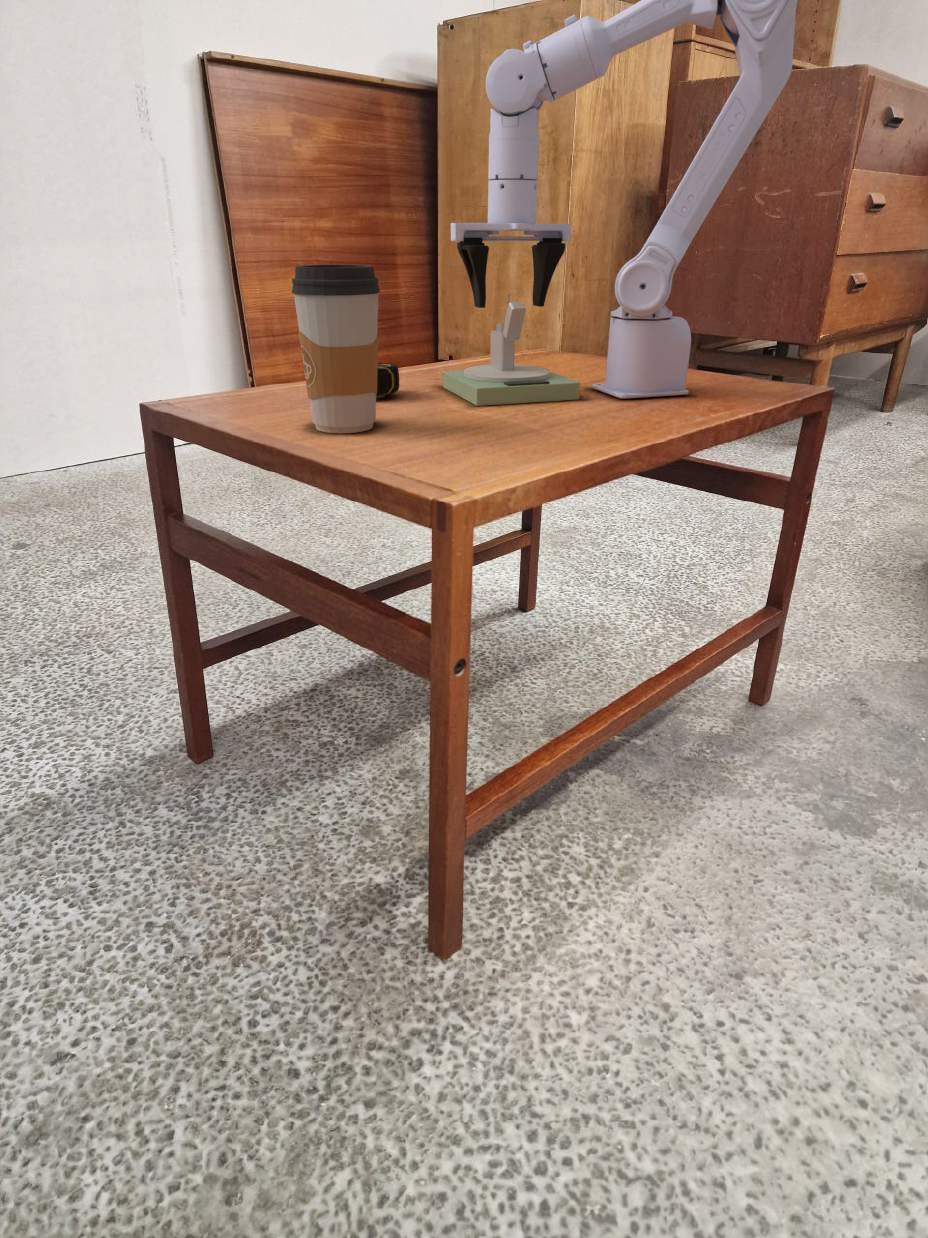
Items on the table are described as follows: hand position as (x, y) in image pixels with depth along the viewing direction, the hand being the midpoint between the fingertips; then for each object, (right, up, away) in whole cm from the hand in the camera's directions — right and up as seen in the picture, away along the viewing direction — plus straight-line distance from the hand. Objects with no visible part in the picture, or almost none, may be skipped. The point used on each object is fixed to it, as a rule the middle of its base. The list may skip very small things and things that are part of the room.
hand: (509, 306), depth 99 cm
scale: (0, -11, 0) cm, 11 cm away
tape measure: (-17, -12, -2) cm, 21 cm away
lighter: (0, -8, 0) cm, 8 cm away
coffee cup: (-18, -19, -17) cm, 31 cm away
